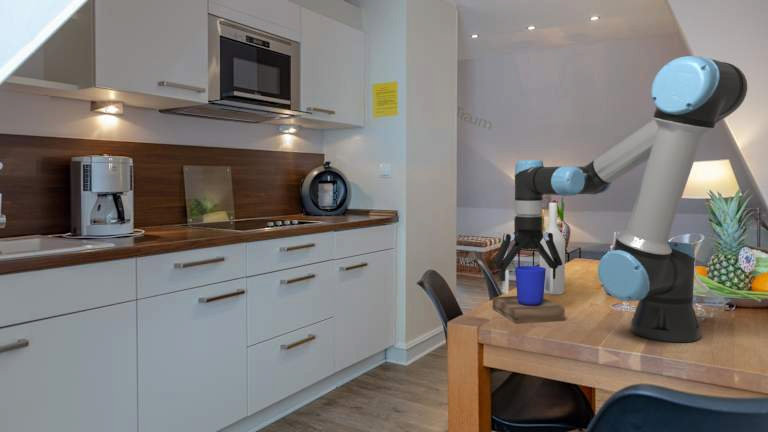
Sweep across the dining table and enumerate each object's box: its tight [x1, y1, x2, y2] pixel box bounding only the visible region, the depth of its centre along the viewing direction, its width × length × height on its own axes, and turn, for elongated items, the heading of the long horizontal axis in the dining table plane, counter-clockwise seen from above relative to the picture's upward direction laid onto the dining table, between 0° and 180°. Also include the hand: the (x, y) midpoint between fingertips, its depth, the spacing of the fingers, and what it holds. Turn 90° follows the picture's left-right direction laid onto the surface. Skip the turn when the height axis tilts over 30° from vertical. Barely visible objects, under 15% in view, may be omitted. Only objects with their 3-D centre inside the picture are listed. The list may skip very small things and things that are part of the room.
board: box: [492, 295, 565, 324], centre depth 153 cm, size 16×14×4 cm
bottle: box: [538, 202, 566, 295], centre depth 181 cm, size 8×8×30 cm
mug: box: [514, 265, 546, 305], centre depth 152 cm, size 8×12×10 cm
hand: (527, 291), depth 152 cm, fingers open, 12 cm apart
